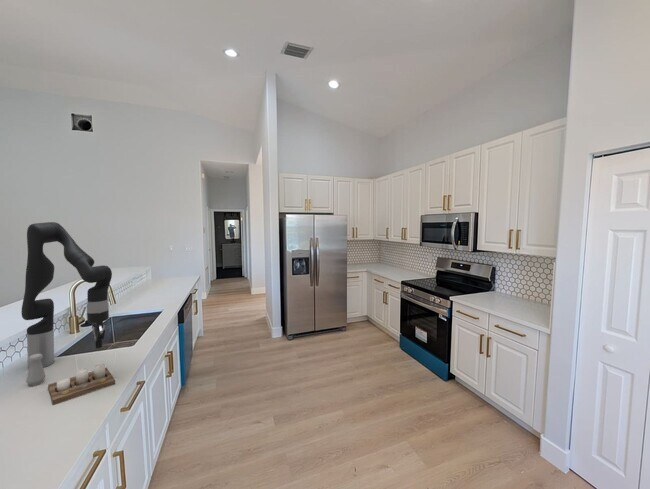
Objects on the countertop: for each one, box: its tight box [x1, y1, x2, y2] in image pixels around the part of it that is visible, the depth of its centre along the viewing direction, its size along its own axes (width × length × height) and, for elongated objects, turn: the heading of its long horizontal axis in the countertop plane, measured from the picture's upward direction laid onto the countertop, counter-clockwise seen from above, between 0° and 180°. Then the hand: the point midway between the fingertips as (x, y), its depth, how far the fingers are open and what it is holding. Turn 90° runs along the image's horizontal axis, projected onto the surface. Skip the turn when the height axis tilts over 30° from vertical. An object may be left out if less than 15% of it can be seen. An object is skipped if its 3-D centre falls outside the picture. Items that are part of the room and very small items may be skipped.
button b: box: [75, 368, 89, 385], centre depth 120 cm, size 4×4×5 cm
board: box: [47, 367, 116, 406], centre depth 120 cm, size 16×20×2 cm
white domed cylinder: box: [56, 377, 71, 393], centre depth 115 cm, size 4×4×5 cm
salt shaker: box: [26, 354, 46, 387], centre depth 121 cm, size 6×6×13 cm
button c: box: [93, 363, 106, 380], centre depth 124 cm, size 4×4×5 cm
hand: (98, 347), depth 123 cm, fingers closed
